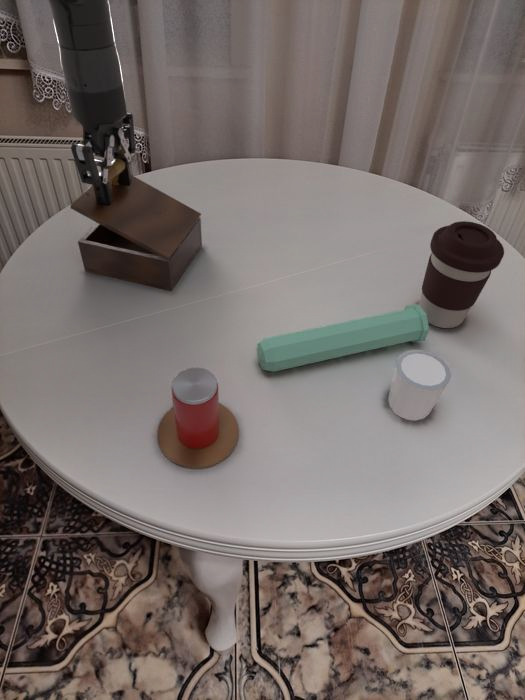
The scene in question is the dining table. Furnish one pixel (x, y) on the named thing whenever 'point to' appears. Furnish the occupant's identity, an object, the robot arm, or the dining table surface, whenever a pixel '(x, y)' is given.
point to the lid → (140, 213)
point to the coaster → (204, 455)
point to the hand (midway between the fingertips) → (115, 193)
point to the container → (343, 339)
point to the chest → (136, 257)
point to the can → (196, 407)
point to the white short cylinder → (417, 384)
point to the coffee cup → (458, 271)
